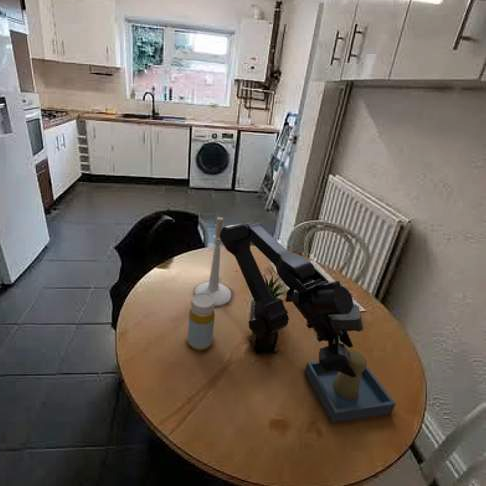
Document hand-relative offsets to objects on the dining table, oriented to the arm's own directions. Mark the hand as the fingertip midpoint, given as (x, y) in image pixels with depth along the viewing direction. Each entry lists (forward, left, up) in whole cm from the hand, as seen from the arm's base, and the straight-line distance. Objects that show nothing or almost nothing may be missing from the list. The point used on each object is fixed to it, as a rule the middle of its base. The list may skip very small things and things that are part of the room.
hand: (352, 360), depth 74 cm
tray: (0, 0, -10) cm, 10 cm away
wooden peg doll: (0, 0, -9) cm, 9 cm away
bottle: (-34, +20, -10) cm, 40 cm away
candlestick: (-26, +41, -10) cm, 49 cm away
